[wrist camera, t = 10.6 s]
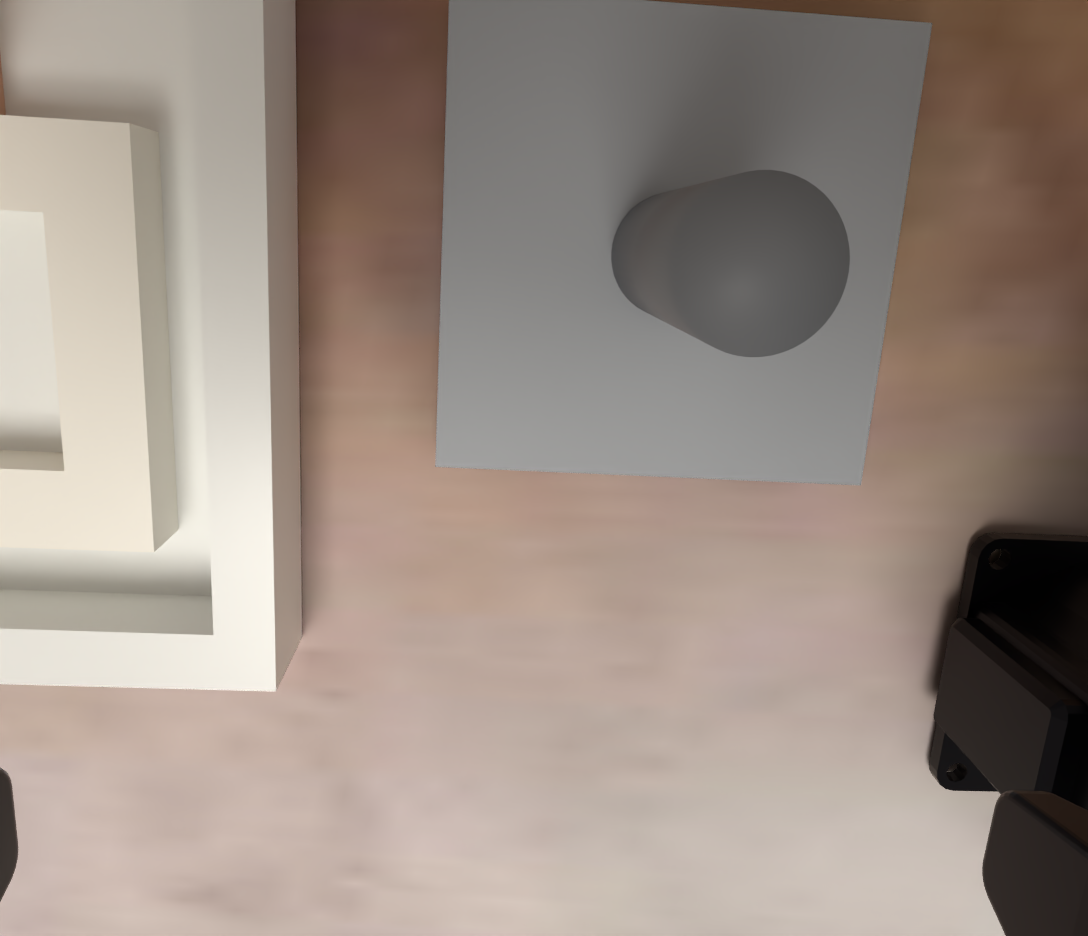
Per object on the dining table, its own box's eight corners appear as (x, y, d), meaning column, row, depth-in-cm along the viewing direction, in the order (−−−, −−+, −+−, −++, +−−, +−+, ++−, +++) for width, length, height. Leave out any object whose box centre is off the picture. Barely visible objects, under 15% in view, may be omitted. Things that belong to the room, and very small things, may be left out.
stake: (904, 36, 18) (1167, -92, 11) (839, 470, 20) (1023, 597, 13) (453, 1, 17) (423, -158, 10) (439, 452, 19) (407, 574, 12)
